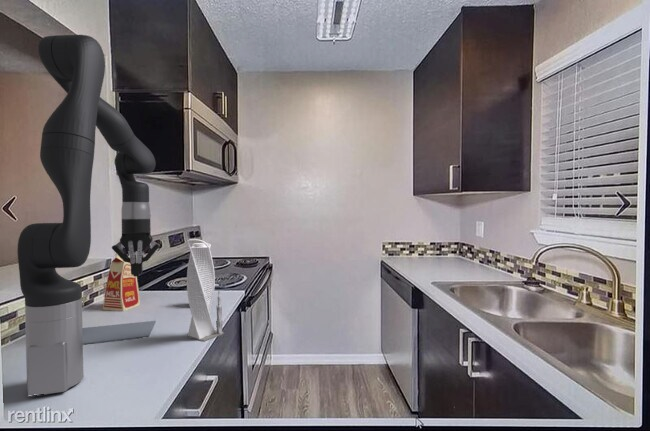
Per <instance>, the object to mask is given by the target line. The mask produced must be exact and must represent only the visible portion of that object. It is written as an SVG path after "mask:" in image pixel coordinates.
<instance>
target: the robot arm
mask: <svg viewBox="0 0 650 431" xmlns="http://www.w3.org/2000/svg"><path fill="white" fill-rule="evenodd" d="M37 46H38V47H37V52H38V57H39V58H40V62H41V63H42V64H43V66H44V68H45V70H46V71H47V72H48V73H49V74H50V76H51V77H52V79H53V80H55V81H56V83H57V84H58V85H59V86H60V87H61V88H62V89H63V90H64V92H66V93H67V94H66V96H65V97H64V98H63V100H62V101H61V103H59V105H58V106H57V107H56V109H54V111H52V112H51V114H50V116H49V117H48V119H47V120H46V122H45V124H44V125H43V128H42V133H41V139H40V140H41V141H40V142H41V143H40V148H39V149H40V152H39V158H40V161H41V164H42V166H43V169H44V170H45V173H46V174H47V176H48V177H49V179H50V180H51V182H52V183H53V185H54V186H55V188H56V189H57V191H58V193H59V196H60V198H61V201H62V208H63V209H62V210H63V215H62V216H63V217H62V222H43V223H41V222H39V223H38V222H37V223H31V224H28V225H27V226H25V227H24V228H23V229H22V231H21V232H20V234H19V237H18V240H17V251H16V252H17V263H18V274H19V284H20V285H19V286H20V290H21V293H22V294H23V297H24V313H25V314H24V315H25V318H24V319H25V321H24V322H25V323H24V324H25V360H26V362H25V363H26V364H25V366H26V369H25V370H26V392H27V396H28V395H34V394H44V395H50V394H55V393H64V392H66V391H67V390H68V389H70V388H71V387H73V386H76V385H77V384H79V383H81V381H82V380H83V379H84V376H85V375H84V374H85V373H84V372H85V371H84V345H83V329H82V328H83V288H82V286H81V284H80V283H78V282H76V281H73V280H69V279H67V278H65V277H63V276H61V275H60V274H59V273H58V272H57V269H63V268H64V269H67V268H80V267H81V266H82V265H84V264H85V263H86V262H87V260H88V257H89V254H90V250H91V244H92V243H91V242H92V230H91V229H92V227H91V226H92V225H91V221H92V220H91V219H92V218H91V190H92V189H91V188H92V178H93V177H92V176H93V167H94V160H95V149H96V148H95V146H96V129H98V131H99V133H100V134H101V135H102V137H103V139H104V140H105V142H106V143H107V144H108V146H109V147H110V149H112V150H113V151H115V152H118V153H116V155H115V158H114V167H115V170H116V173H117V177H118V179H119V183H120V186H121V191H122V192H121V196H122V198H121V199H122V203H121V211H120V212H121V214H120V215H121V237H120V238H119V241H118V242H117V243H116V244H114V245H112V246H111V249H112V250H113V252H114V253H115V254H118V256H119V257H120V258H121V259H122V260H123V261H124V262H128V263H130V264H131V274H132V275H133V276H137V277H140V276H141V275H142V274H143V272H144V271H143V268H144V267H143V263H144V262H147V261H149V260H150V259H151V257H152V256H153V255H154V254H155V253H156V251H157V250H158V249H159V248H160V246H161V244H160V243H157V242H156V241H154V240H153V237H152V235H151V234H152V233H151V229H152V228H151V216H152V215H151V207H150V186H149V184H148V183H146V182H142V181H138V180H137V179H136V177H135V176H134V175H149V174H151V173H153V171H154V170H155V168H156V164H157V163H156V158H155V156H154V154H153V153H152V151H151V150H150V149H149V148H148V147H147V145H145V144H144V143H143V142H142V141H141V140H140V139H139V138H138V137H137V136H136V135H135V133H134V131H133V130H132V128H131V126H130V125H129V122H128V120H126V118H125V117H124V116H123V114H122V113H120V111H119V110H117V109H116V108H115V107H114V106H113V105H112V104H110V103H109V102H107V100H104V99H103V98H102V97H101V93H102V88H103V85H104V84H103V83H104V78H105V72H106V60H105V59H106V58H105V54H104V50H103V48H102V45H101V44H100V43H99V41H97V39H95V38H94V37H92V36H90V35H86V34H64V35H63V34H58V35H46V36H43V37H42V38H41V39H40V40H39V42H38V45H37ZM123 247H124V248H125V250H126V251H127V252H128V254H129V255H127V254H126V252H125V251H124V250H123V249H124V248H123ZM148 247H149V248H150V250H149V252H148V253H147V254H146V255H145V256H144V254H145V251H146V250H147V249H148ZM128 256H130V257H128Z"/></svg>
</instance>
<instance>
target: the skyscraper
mask: <svg viewBox="0 0 650 431" xmlns="http://www.w3.org/2000/svg"><path fill="white" fill-rule="evenodd" d="M193 241H194V242H195V243H192V244H191V242H193ZM186 244H187V246H188V248H189V251H190V253H189V258H188V262H187V272H186V292H187V298H188V304H189V311H190V314H191V320H190V324H189V328H188V332H187V338H190V339H193V340H196V341H197V340H198V341H200V342H203V343H205V342H207V341H210V340H212V339H215V338H217V337H220V336H221V335H225V332H223V319H222V318H223V316H222V315H223V314H222V312H223V311H222V310H223V306H222V305H221V294H220V290H218V295H217V305H216V306H215V307H216V321H215V322H216V323H215V324H216V330H215V327H214V324H213V323H214V322H213V319H212V316H211V308H212V304H213V299H214V294H215V286H216V284H215V283H216V276H215V275H216V273H215V266H214V260H213V256H212V251H211V248H212V245H211V243H207V242H206V241H204V240H203V239H199V238H190V239H187V240H186Z"/></svg>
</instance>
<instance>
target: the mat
mask: <svg viewBox="0 0 650 431" xmlns="http://www.w3.org/2000/svg"><path fill="white" fill-rule="evenodd" d="M156 322H157V320H149V321H138V322H130V323H129V322H128V323H119V324H108V325H98V326H88V327H82V329H83V346H84V345H91V344H92V345H93V344H99V343H110V342H109V341H111V342H116V341H115V340H120V341H125V340H124V339H129V340H136V339H135V338H137V339H144V338H143V337H146V338H150V335H151V334H152V331H153V330H154V327H155V324H156Z"/></svg>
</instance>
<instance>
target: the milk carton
mask: <svg viewBox="0 0 650 431" xmlns="http://www.w3.org/2000/svg"><path fill="white" fill-rule="evenodd" d="M114 256H115V258H113V260H112V261H111V263H110V267H109V270H108V275H107V279H106V285H105V286H106V287H105V290H104V298H103V306H102V311H103V310H105V311H113V310H116V311H117V312H125V310H126V311H127V310H130V309H134V308H136V307H137V306H140V305H141V302H140V290H139V282H138V276H133V275H132V274H131V264H130V263H128V262H124V261H123V260H122V259H121V258H120V257H119V256H118V254H117V253H115V255H114ZM127 256H128V257H129V258H130V256H129V255H127Z"/></svg>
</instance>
